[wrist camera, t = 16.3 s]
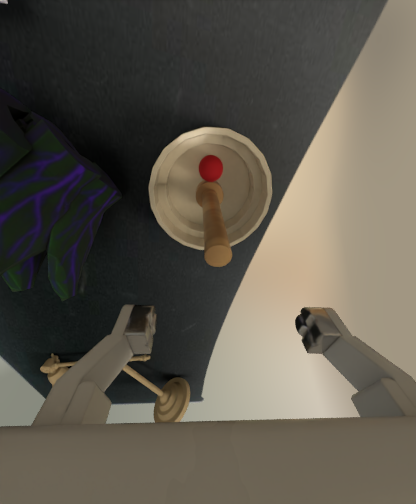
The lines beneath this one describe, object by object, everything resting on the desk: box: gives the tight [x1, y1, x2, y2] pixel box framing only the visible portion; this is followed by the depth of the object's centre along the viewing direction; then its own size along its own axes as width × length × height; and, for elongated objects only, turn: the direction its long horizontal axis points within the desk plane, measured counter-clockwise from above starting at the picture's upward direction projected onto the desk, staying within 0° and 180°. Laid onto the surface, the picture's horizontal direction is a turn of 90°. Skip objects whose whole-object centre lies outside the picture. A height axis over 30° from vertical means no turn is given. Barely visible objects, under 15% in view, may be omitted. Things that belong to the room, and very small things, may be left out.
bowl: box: [149, 126, 272, 250], centre depth 25 cm, size 15×15×6 cm
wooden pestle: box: [196, 180, 232, 267], centre depth 20 cm, size 4×4×16 cm
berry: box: [199, 155, 223, 182], centre depth 23 cm, size 3×3×3 cm
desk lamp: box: [40, 354, 190, 423], centre depth 58 cm, size 15×35×40 cm
